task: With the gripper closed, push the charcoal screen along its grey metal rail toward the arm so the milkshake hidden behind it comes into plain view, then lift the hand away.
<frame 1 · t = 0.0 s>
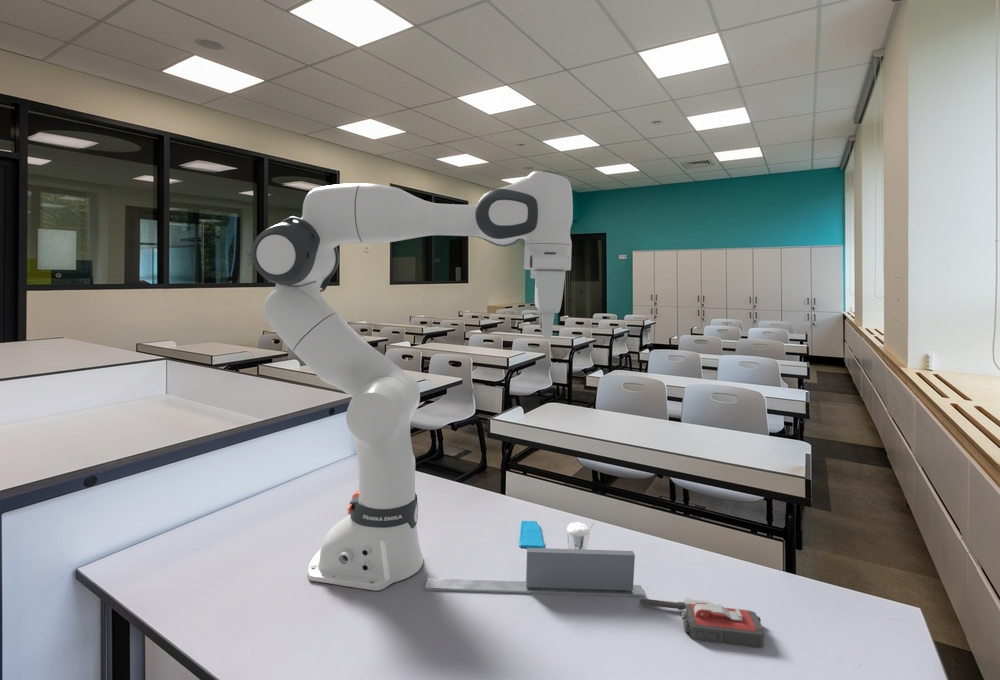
hand: (545, 333, 100), 48 cm above the table, tool pointing down, fingers open, 8 cm apart
milkshake: (578, 568, 107), on the table
rail: (533, 588, 99), on the table
screen: (579, 568, 99), point 4 cm above the table, slide at 0.0 cm
walkie-talkie: (701, 628, 90), on the table
sponge: (532, 538, 120), on the table
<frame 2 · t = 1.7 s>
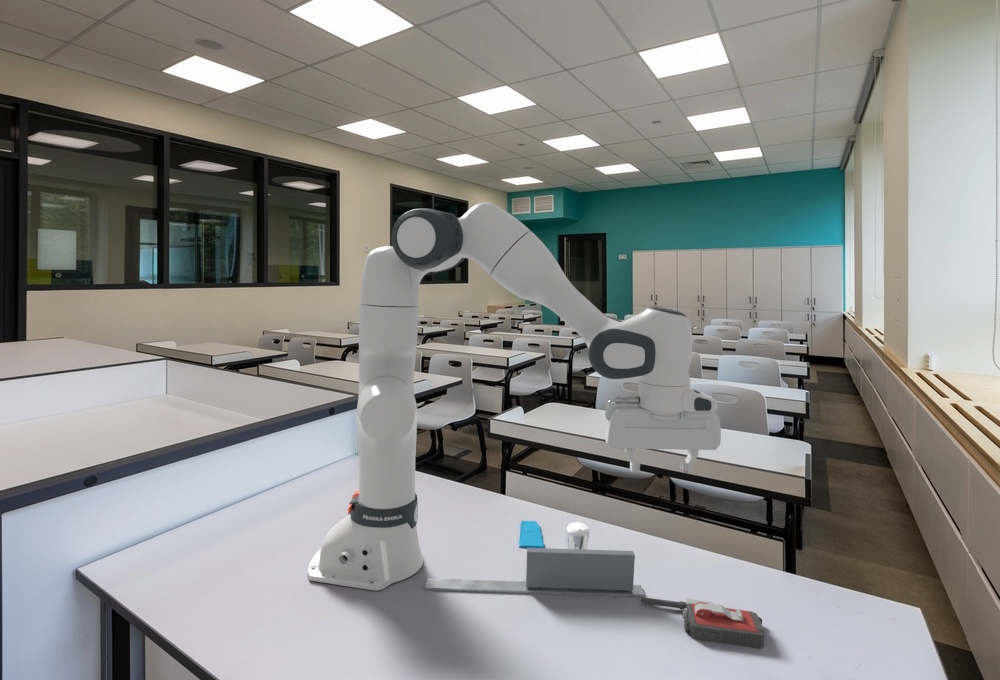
hand: (660, 471, 96), 24 cm above the table, tool pointing down, fingers open, 8 cm apart
nothing on the table moved.
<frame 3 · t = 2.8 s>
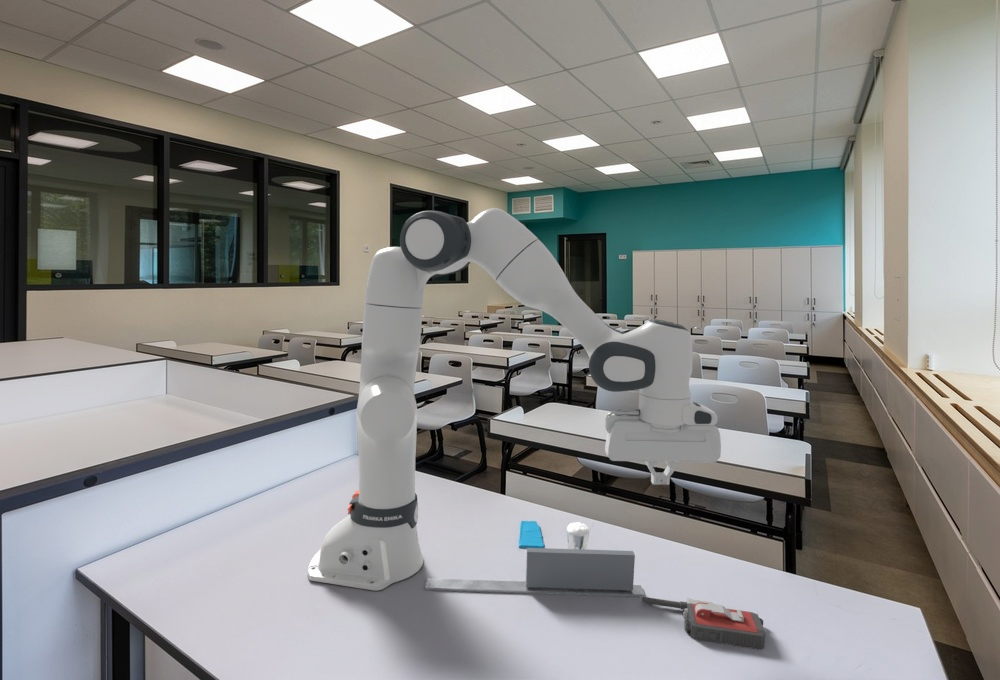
hand: (660, 483, 96), 21 cm above the table, tool pointing down, fingers closed
nothing on the table moved.
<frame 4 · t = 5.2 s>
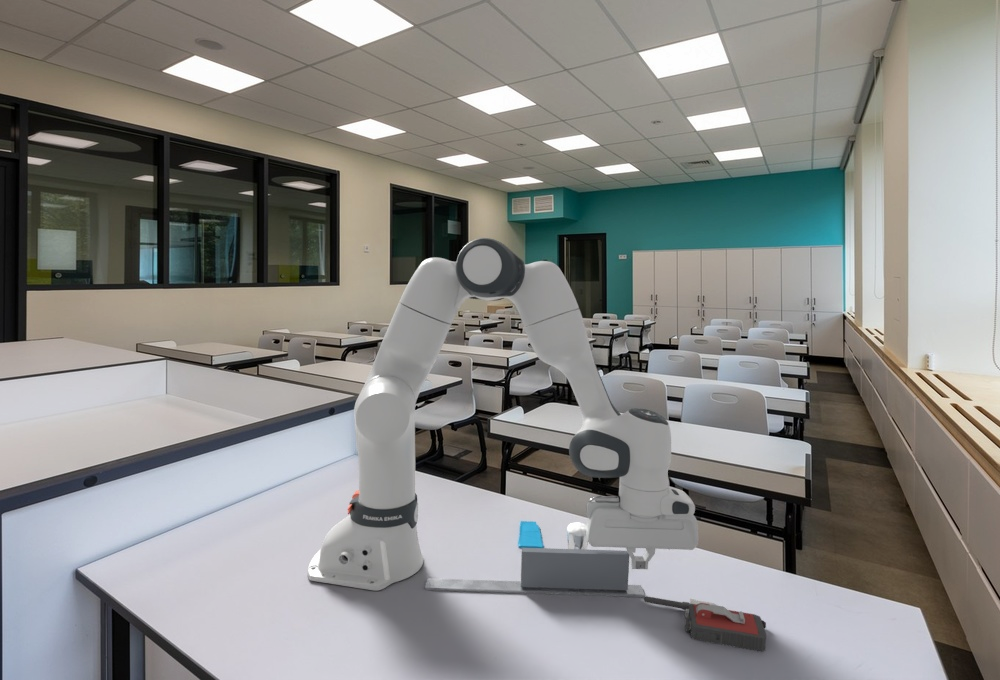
hand: (639, 567, 98), 5 cm above the table, tool pointing down, fingers closed
screen: (574, 568, 99), point 4 cm above the table, slide at 1.0 cm, touching gripper
everything else where it was.
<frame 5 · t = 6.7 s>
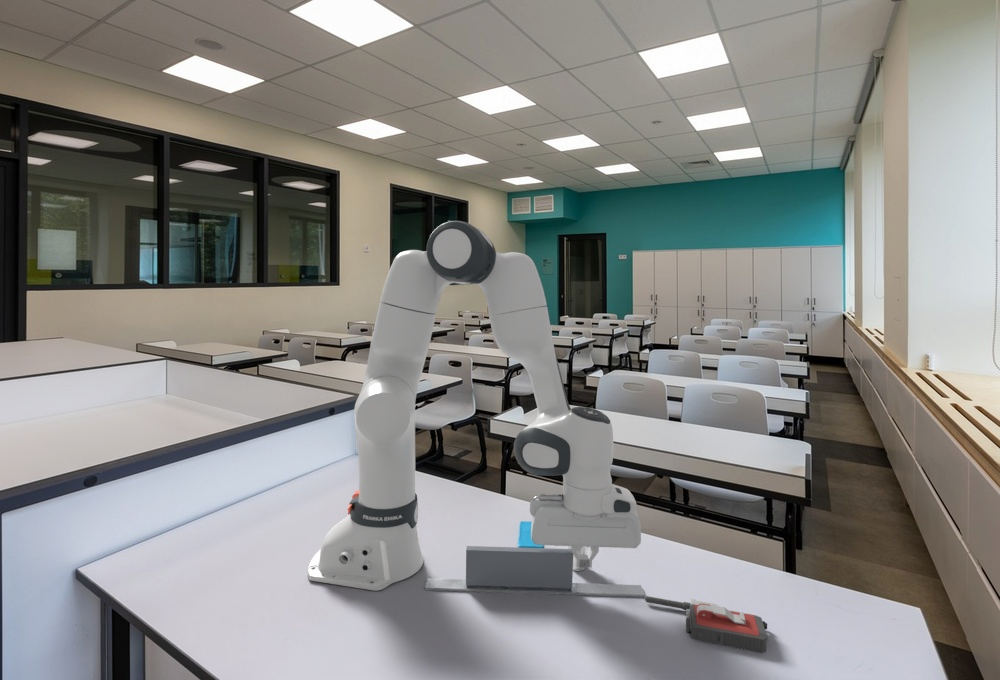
hand: (583, 566, 98), 5 cm above the table, tool pointing down, fingers closed
screen: (519, 567, 99), point 4 cm above the table, slide at 11.4 cm, touching gripper
everything else where it was.
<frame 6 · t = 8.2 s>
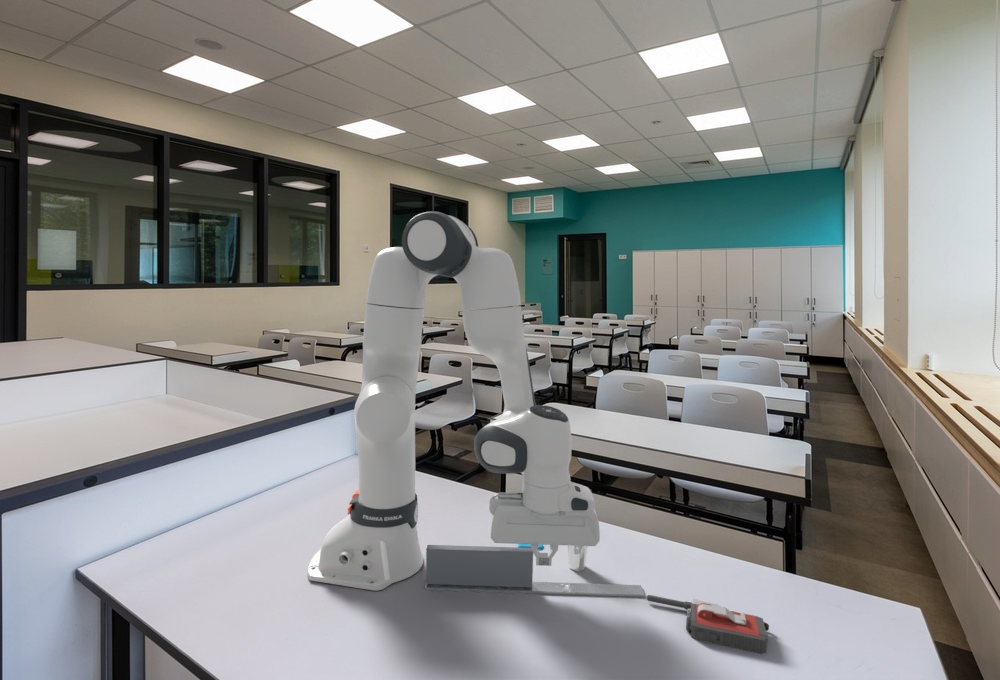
hand: (543, 564, 99), 5 cm above the table, tool pointing down, fingers closed
screen: (479, 565, 99), point 4 cm above the table, slide at 18.9 cm, touching gripper
everything else where it was.
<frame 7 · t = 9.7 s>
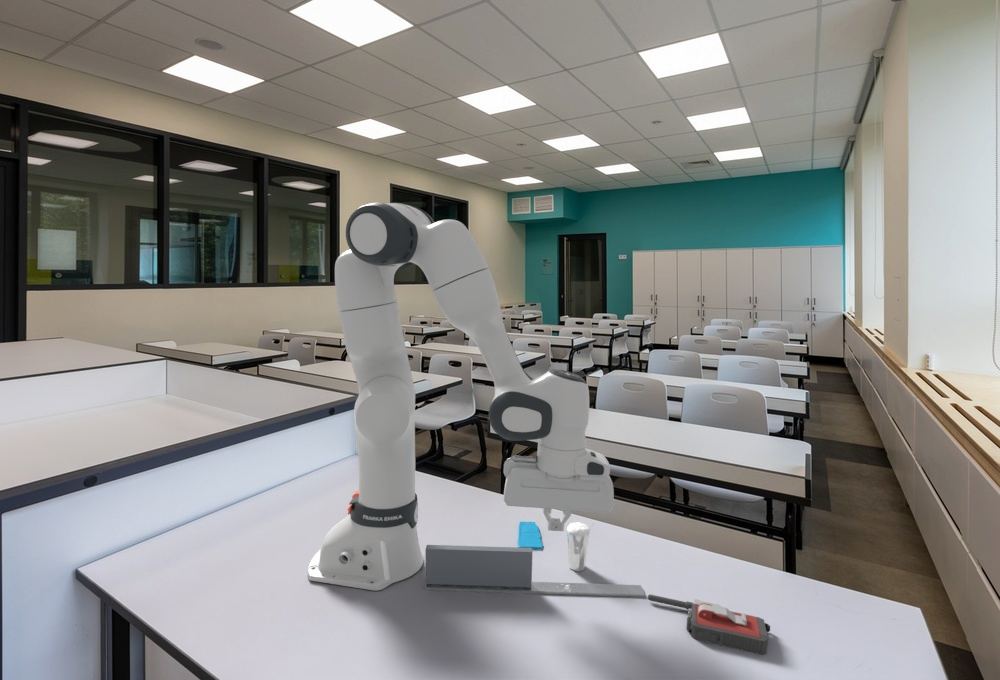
hand: (555, 529, 98), 12 cm above the table, tool pointing down, fingers closed
screen: (478, 565, 99), point 4 cm above the table, slide at 19.0 cm
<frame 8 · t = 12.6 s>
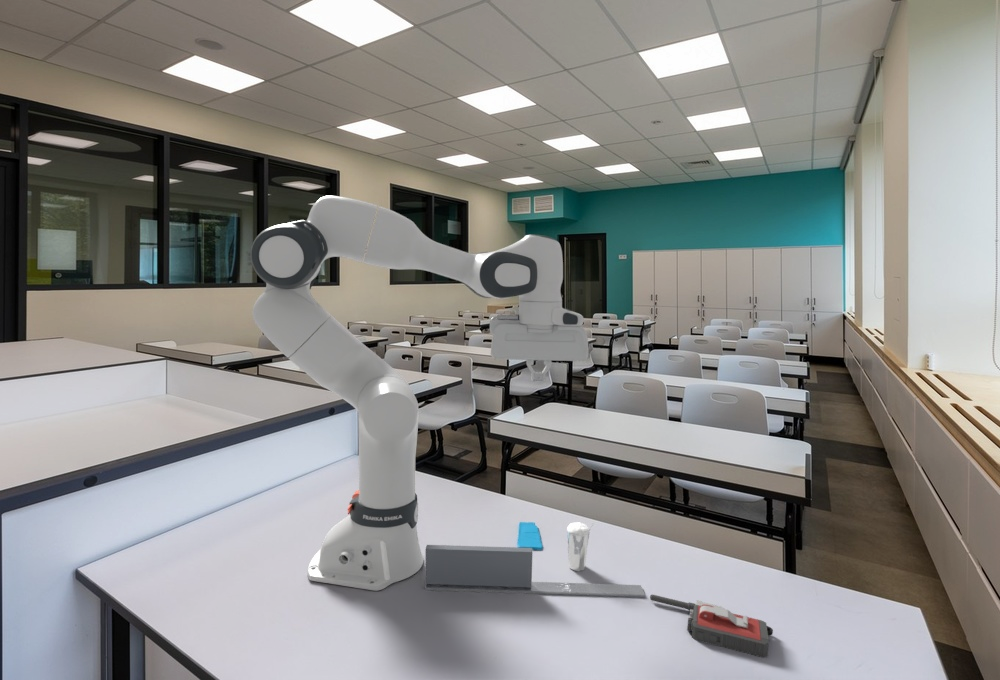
hand: (538, 381, 110), 37 cm above the table, tool pointing down, fingers closed
at the end: screen slide at 19.0 cm; milkshake moved 0.2 cm from its start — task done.
